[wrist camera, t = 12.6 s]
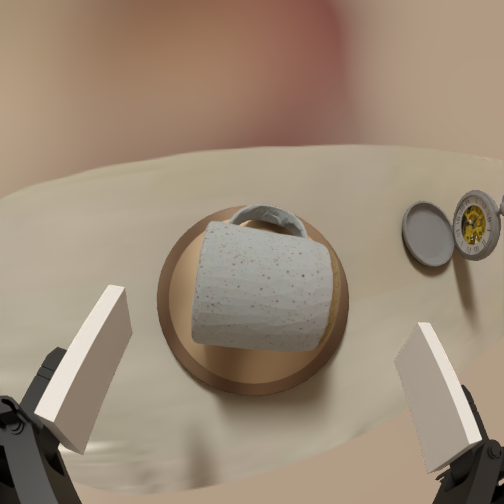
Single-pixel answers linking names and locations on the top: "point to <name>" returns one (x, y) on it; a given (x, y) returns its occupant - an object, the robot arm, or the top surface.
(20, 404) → the robot arm
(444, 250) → the pocket watch
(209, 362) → the brown round plate
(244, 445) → the top surface
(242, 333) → the ceramic mug
